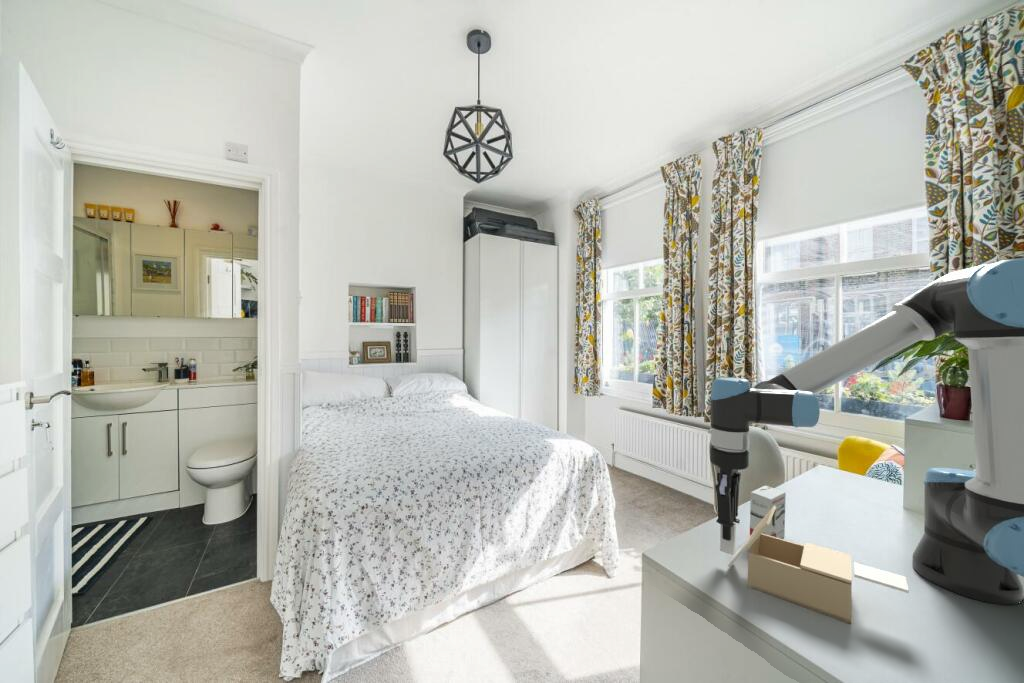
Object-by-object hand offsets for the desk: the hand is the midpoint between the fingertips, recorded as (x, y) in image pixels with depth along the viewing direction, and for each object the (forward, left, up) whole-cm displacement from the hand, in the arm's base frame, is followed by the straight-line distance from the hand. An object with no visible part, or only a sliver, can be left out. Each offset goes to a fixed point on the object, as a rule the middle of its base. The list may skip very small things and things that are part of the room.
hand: (727, 551), depth 87 cm
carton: (-13, 0, -3) cm, 13 cm away
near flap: (-21, 0, +4) cm, 22 cm away
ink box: (-5, -20, -3) cm, 21 cm away
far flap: (-5, 0, +4) cm, 6 cm away
